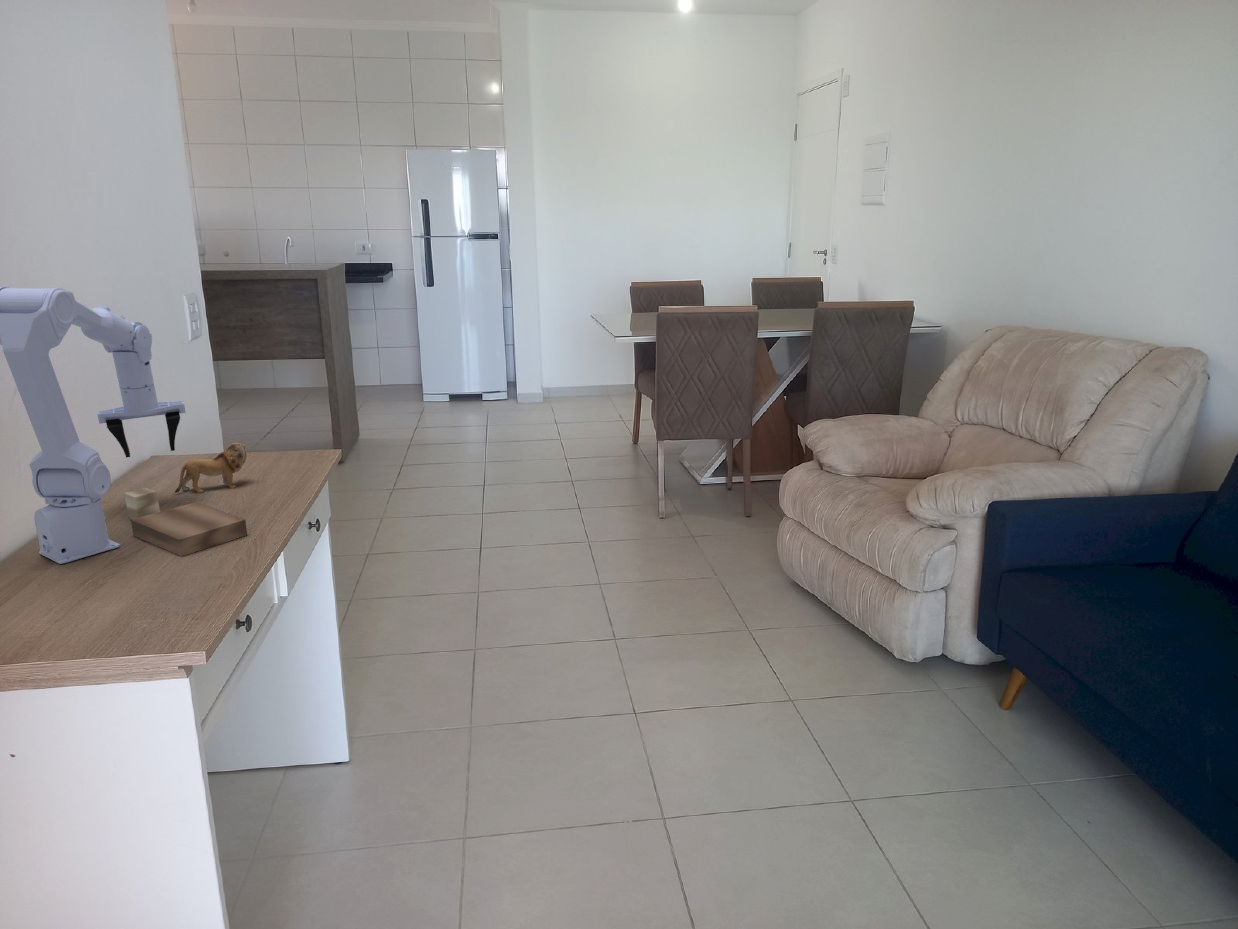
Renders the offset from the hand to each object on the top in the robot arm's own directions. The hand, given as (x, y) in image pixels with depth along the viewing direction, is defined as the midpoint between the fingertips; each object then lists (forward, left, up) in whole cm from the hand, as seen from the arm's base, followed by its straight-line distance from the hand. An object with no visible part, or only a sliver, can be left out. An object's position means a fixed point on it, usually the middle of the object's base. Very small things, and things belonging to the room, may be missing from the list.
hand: (150, 452), depth 162 cm
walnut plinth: (-6, -22, -10) cm, 25 cm away
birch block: (-6, -6, -11) cm, 13 cm away
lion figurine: (+12, 0, -11) cm, 16 cm away
